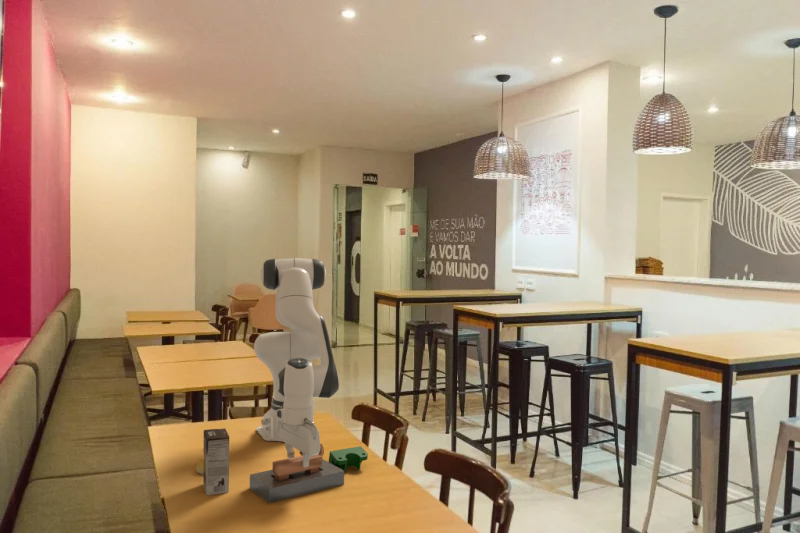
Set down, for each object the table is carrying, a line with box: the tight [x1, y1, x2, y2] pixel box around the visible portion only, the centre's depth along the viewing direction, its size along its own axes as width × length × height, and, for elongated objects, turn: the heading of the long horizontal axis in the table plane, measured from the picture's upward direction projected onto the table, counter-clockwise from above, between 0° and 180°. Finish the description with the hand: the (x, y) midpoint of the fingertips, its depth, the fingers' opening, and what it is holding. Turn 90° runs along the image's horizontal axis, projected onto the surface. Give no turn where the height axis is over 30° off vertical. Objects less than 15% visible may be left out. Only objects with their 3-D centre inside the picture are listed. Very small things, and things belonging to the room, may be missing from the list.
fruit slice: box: [299, 443, 325, 457], centre depth 198 cm, size 8×7×5 cm
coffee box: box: [202, 428, 230, 496], centre depth 174 cm, size 9×6×16 cm
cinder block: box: [249, 458, 345, 504], centre depth 176 cm, size 13×24×4 cm, turn 128°
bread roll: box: [195, 458, 204, 475], centre depth 188 cm, size 8×9×4 cm
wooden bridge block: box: [271, 454, 323, 481], centre depth 177 cm, size 4×14×8 cm, turn 128°
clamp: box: [328, 445, 369, 474], centre depth 192 cm, size 12×6×9 cm, turn 116°
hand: (297, 462), depth 176 cm, fingers open, 7 cm apart
